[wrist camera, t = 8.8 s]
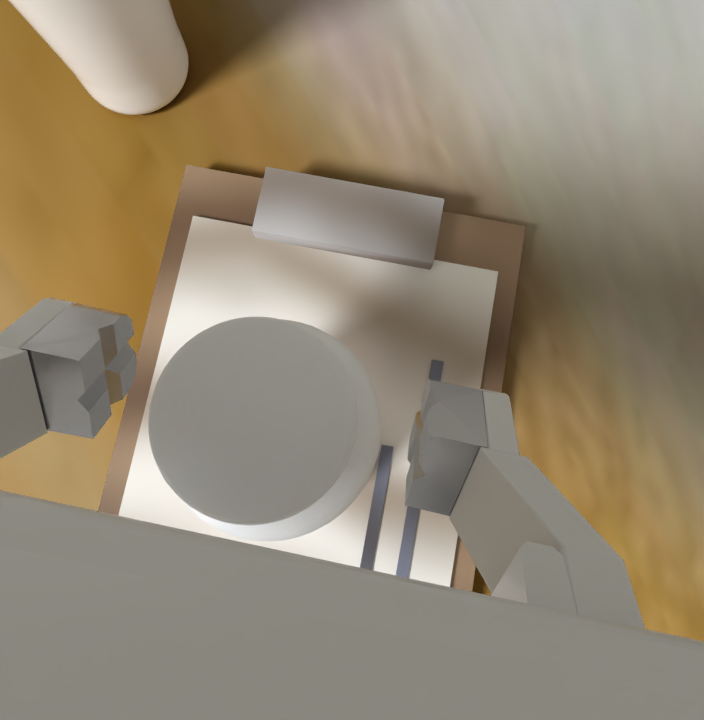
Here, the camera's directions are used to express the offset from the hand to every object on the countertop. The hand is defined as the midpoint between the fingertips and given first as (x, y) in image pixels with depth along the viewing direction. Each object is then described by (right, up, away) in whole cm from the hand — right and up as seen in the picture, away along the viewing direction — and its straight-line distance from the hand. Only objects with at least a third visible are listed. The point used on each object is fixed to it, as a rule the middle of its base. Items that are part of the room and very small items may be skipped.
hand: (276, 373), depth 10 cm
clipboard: (-1, -3, +14) cm, 14 cm away
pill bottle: (-1, -3, +12) cm, 13 cm away
